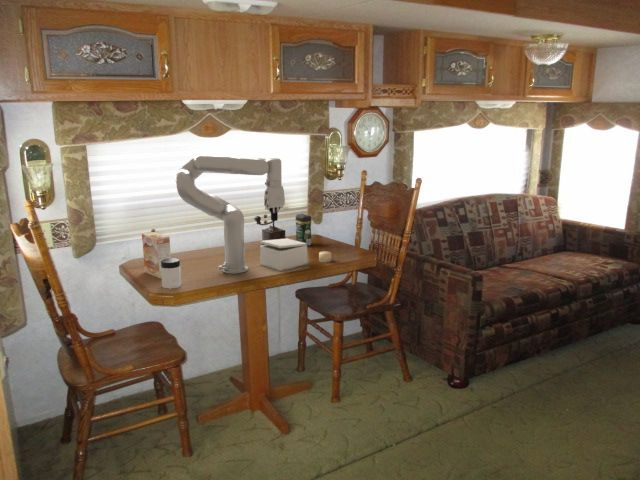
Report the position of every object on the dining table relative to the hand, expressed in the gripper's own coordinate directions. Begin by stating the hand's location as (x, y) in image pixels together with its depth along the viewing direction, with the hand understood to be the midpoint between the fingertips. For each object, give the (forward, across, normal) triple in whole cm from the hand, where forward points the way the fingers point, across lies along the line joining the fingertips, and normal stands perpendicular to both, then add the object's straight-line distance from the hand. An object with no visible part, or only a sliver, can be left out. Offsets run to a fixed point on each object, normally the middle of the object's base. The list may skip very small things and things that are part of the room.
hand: (274, 220), depth 268 cm
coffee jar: (+24, +42, +24) cm, 54 cm away
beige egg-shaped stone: (+24, +26, -10) cm, 37 cm away
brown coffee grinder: (+24, +27, +37) cm, 51 cm away
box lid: (+13, +6, 0) cm, 14 cm away
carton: (+24, +6, 0) cm, 25 cm away
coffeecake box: (+25, -48, +31) cm, 62 cm away
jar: (+25, -53, +9) cm, 59 cm away
